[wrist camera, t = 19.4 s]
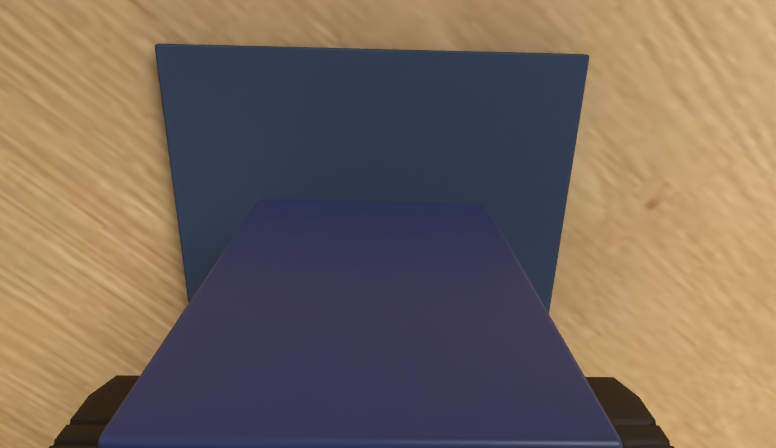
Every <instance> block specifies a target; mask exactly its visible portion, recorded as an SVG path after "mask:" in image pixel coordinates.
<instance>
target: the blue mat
mask: <svg viewBox="0 0 776 448" xmlns="http://www.w3.org/2000/svg"><path fill="white" fill-rule="evenodd" d="M155 51H156V59H157V67H158V74H159V82H160V89H161V97H162V104H163V112H164V120H165V127H166V135H167V142H168V150H169V157H170V165H171V173H172V180H173V188H174V195H175V203H176V210H177V218H178V226H179V233H180V241H181V248H182V256H183V264H184V271H185V279H186V286H187V294H188V301H189V302H190V301H191V300H192V298H193V297H194V295H195V294H196V292H197V291H198V289H199V288H200V286H201V285H202V283H203V282H204V280H205V279H206V277H207V276H208V274H209V273H210V271H211V270H212V268H213V267H214V265H215V264H216V262H217V261H218V259H219V258H220V256H221V255H222V253H223V252H224V250H225V249H226V247H227V246H228V244H229V243H230V241H231V240H232V238H233V237H234V235H235V234H236V232H237V231H238V230H239V228H240V227H241V225H242V224H243V222H244V221H245V219H246V218H247V216H248V215H249V213H250V212H251V210H252V209H253V207H254V206H255V204H256V203H257V201H258V200H314V201H370V202H426V203H482V204H486V206H487V208H488V209H489V211H490V213H491V215H492V216H493V218H494V220H495V222H496V223H497V225H498V227H499V228H500V230H501V232H502V234H503V235H504V237H505V239H506V241H507V242H508V244H509V246H510V248H511V249H512V251H513V253H514V255H515V256H516V258H517V260H518V261H519V263H520V265H521V267H522V268H523V270H524V272H525V274H526V275H527V277H528V279H529V281H530V282H531V284H532V286H533V288H534V289H535V291H536V293H537V295H538V296H539V298H540V300H541V301H542V303H543V305H544V307H545V308H546V310H547V312H548V314H549V308H550V302H551V296H552V289H553V283H554V277H555V270H556V264H557V258H558V251H559V245H560V239H561V232H562V226H563V220H564V214H565V207H566V201H567V195H568V188H569V182H570V176H571V169H572V163H573V157H574V150H575V144H576V138H577V131H578V125H579V119H580V112H581V106H582V100H583V94H584V87H585V81H586V75H587V68H588V62H589V55H585V54H552V53H512V52H471V51H431V50H390V49H350V48H310V47H269V46H229V45H188V44H156V45H155Z"/></svg>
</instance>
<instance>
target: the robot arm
mask: <svg viewBox="0 0 776 448" xmlns="http://www.w3.org/2000/svg"><path fill="white" fill-rule="evenodd" d="M139 377H140V376H115V377H114V378H113V379H111V380H110V381H109V382H107V383H106V384H104V385H103V386H102V387H100V388H99V389H97V390H96V391H95V392H93V393H92V394H91V395H89V396H88V398H87V399H86V400H85V401H84V403H83V404H82V405H81V407H80V408H79V409H78V411H77V412H76V413H75V414H74V416H73V417H72V418H71V420H70V424H69V425H66V426H65V427H64V429H63V430H62V431H61V433H60V434H59V435H58V437H57V438H56V439H55V440H54V441H55V442H54V445H53V446H50V447H49V448H99V446H98V442H99V437H100V435H101V434H102V432H103V431H104V429H105V428H106V426H107V425H108V423H109V422H110V420H111V419H112V417H113V416H114V414H115V413H116V411H117V410H118V408H119V407H120V405H121V404H122V402H123V401H124V399H125V398H126V396H127V395H128V393H129V392H130V390H131V389H132V387H133V386H134V384H135V383H136V381H137V380H138V378H139ZM585 378H586V380H587V381H588V383H589V385H590V387H591V388H592V390H593V392H594V394H595V395H596V397H597V399H598V401H599V402H600V404H601V406H602V408H603V409H604V411H605V413H606V414H607V416H608V418H609V420H610V421H611V423H612V425H613V427H614V428H615V430H616V432H617V434H618V435H619V437H620V439H621V442H622V448H674V447H673V446H670V443H669V440H668V438H667V437H666V435H665V434H664V432H663V431H662V429H661V428H660V427H659V426H656V423H655V419H654V418H653V417H652V415H651V414H650V412H649V411H648V409H647V408H646V406H645V405H644V404H643V402H642V401H641V399H640V398H639V397H638V396H637V395H636V394H634V393H633V392H632V391H630V390H629V389H628V388H627V387H625V386H624V385H623V384H622V383H620V382H619V381H618V380H616V379H615V378H614V377H585Z"/></svg>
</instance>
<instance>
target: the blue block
mask: <svg viewBox="0 0 776 448" xmlns="http://www.w3.org/2000/svg"><path fill="white" fill-rule="evenodd" d="M98 446H99V448H622V442H621V439H620V437H619V435H618V434H617V432H616V430H615V428H614V427H613V425H612V423H611V421H610V420H609V418H608V416H607V414H606V413H605V411H604V409H603V408H602V406H601V404H600V402H599V401H598V399H597V397H596V395H595V394H594V392H593V390H592V388H591V387H590V385H589V383H588V381H587V380H586V378H585V376H584V374H583V373H582V371H581V369H580V368H579V366H578V364H577V362H576V361H575V359H574V357H573V355H572V354H571V352H570V350H569V348H568V347H567V345H566V343H565V341H564V340H563V338H562V336H561V334H560V333H559V331H558V329H557V328H556V326H555V324H554V322H553V321H552V319H551V317H550V315H549V314H548V312H547V310H546V308H545V307H544V305H543V303H542V301H541V300H540V298H539V296H538V295H537V293H536V291H535V289H534V288H533V286H532V284H531V282H530V281H529V279H528V277H527V275H526V274H525V272H524V270H523V268H522V267H521V265H520V263H519V261H518V260H517V258H516V256H515V255H514V253H513V251H512V249H511V248H510V246H509V244H508V242H507V241H506V239H505V237H504V235H503V234H502V232H501V230H500V228H499V227H498V225H497V223H496V222H495V220H494V218H493V216H492V215H491V213H490V211H489V209H488V208H487V206H486V204H482V203H426V202H370V201H314V200H258V201H257V203H256V204H255V206H254V207H253V209H252V210H251V212H250V213H249V215H248V216H247V218H246V219H245V221H244V222H243V224H242V225H241V227H240V228H239V230H238V231H237V232H236V234H235V235H234V237H233V238H232V240H231V241H230V243H229V244H228V246H227V247H226V249H225V250H224V252H223V253H222V255H221V256H220V258H219V259H218V261H217V262H216V264H215V265H214V267H213V268H212V270H211V271H210V273H209V274H208V276H207V277H206V279H205V280H204V282H203V283H202V285H201V286H200V288H199V289H198V291H197V292H196V294H195V295H194V297H193V298H192V300H191V301H190V302H189V304H188V305H187V307H186V308H185V310H184V311H183V313H182V314H181V316H180V317H179V319H178V320H177V322H176V323H175V325H174V326H173V328H172V329H171V331H170V332H169V334H168V335H167V337H166V338H165V340H164V341H163V343H162V344H161V346H160V347H159V349H158V350H157V352H156V353H155V355H154V356H153V358H152V359H151V361H150V362H149V364H148V365H147V367H146V368H145V369H144V371H143V372H142V374H141V375H140V377H139V378H138V380H137V381H136V383H135V384H134V386H133V387H132V389H131V390H130V392H129V393H128V395H127V396H126V398H125V399H124V401H123V402H122V404H121V405H120V407H119V408H118V410H117V411H116V413H115V414H114V416H113V417H112V419H111V420H110V422H109V423H108V425H107V426H106V428H105V429H104V431H103V432H102V434H101V435H100V437H99V442H98Z"/></svg>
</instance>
